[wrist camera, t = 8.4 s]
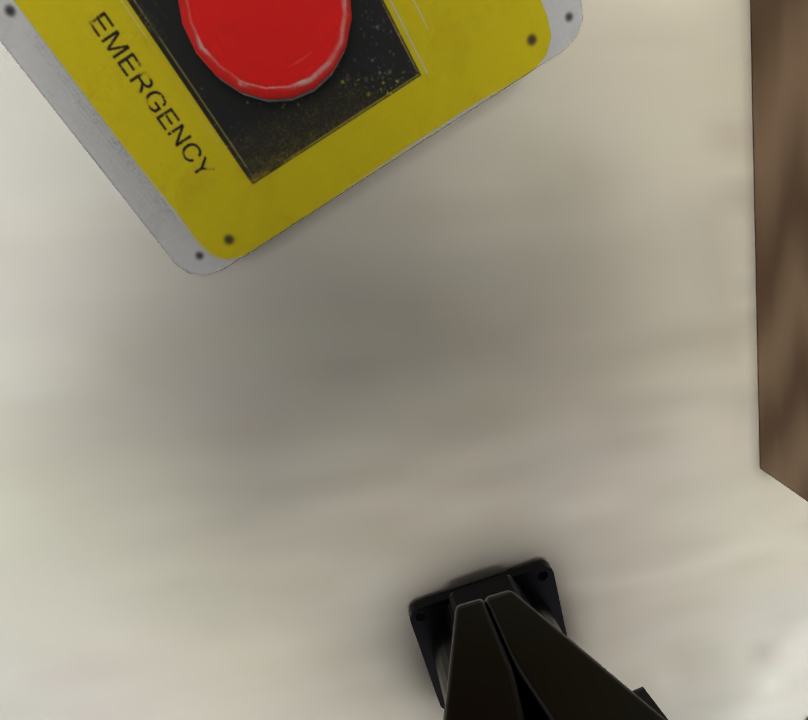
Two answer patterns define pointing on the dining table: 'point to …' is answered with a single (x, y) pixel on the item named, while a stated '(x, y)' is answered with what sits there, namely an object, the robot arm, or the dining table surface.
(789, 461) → the housing
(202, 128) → the emergency button
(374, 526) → the dining table surface
